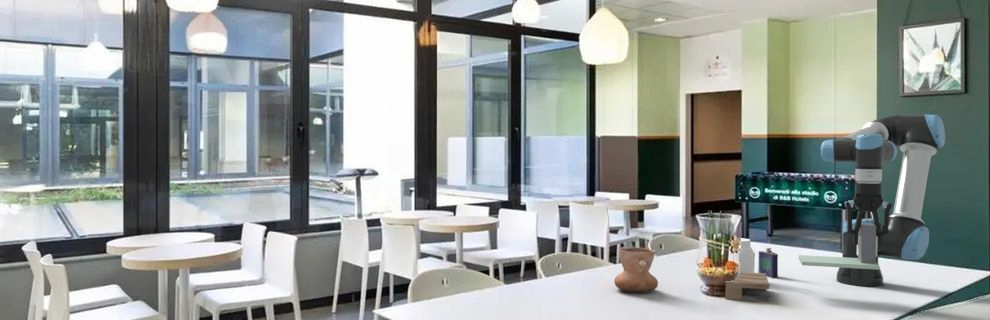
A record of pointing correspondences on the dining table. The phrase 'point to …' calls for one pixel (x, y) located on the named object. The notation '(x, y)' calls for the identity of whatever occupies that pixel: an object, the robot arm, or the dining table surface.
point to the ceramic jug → (636, 270)
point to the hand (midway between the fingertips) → (866, 255)
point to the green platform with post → (861, 262)
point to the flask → (768, 263)
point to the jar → (746, 257)
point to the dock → (747, 286)
